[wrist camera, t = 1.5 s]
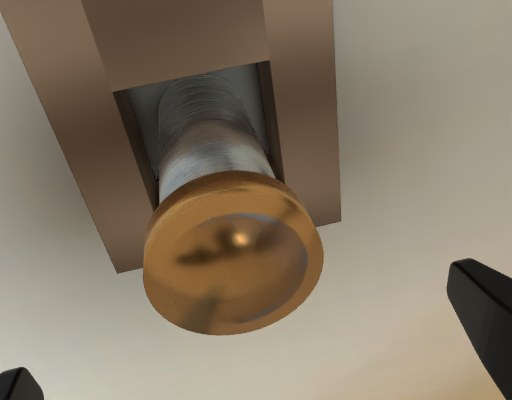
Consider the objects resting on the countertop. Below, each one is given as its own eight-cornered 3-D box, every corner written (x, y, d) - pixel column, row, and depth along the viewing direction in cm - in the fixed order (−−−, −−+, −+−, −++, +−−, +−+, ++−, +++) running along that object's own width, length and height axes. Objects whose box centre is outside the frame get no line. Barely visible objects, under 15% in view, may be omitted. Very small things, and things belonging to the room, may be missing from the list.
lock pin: (272, 99, 19) (358, 244, 11) (215, 175, 21) (254, 352, 13) (184, 40, 17) (211, 164, 9) (129, 130, 19) (108, 304, 11)
